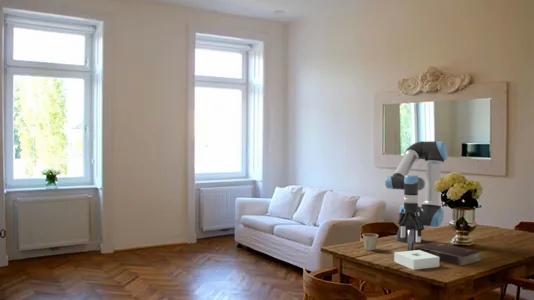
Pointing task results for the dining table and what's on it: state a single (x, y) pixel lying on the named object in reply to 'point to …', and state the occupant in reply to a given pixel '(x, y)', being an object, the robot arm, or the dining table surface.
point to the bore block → (416, 259)
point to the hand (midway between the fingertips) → (410, 239)
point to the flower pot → (370, 241)
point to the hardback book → (451, 253)
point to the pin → (410, 240)
